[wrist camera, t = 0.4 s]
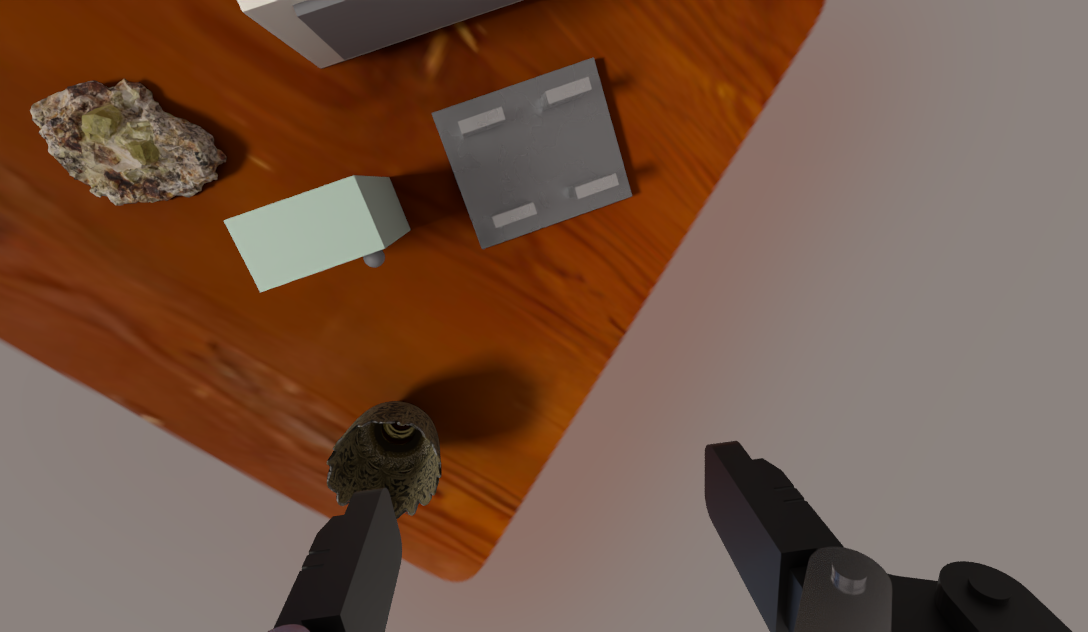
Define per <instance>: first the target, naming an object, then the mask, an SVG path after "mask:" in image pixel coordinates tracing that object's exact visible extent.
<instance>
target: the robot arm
mask: <svg viewBox="0 0 1088 632" xmlns="http://www.w3.org/2000/svg"><path fill="white" fill-rule="evenodd" d="M705 500H706V506H707V510H708V513H709V516H710V519H711V521H712V523H713V525H714V527H715V528H716V530H717V532H718V534H719V536H720V538H721V540H722V542H723V544H724V546H725V547H726V549H727V551H728V553H729V555H730V557H731V559H732V561H733V562H734V564H735V566H736V568H737V570H738V572H739V574H740V576H741V578H742V580H743V581H744V583H745V585H746V587H747V589H748V591H749V593H750V595H751V596H752V598H753V600H754V602H755V604H756V606H757V608H758V610H759V612H760V614H761V615H762V617H763V619H764V621H765V623H766V625H767V627H768V629H769V631H770V632H1072V631H1071V630H1070V629H1069V628H1068V627H1067V626H1065V624H1064V623H1063V622H1062V621H1061V620H1059V619H1058V618H1057V617H1056V616H1055V615H1054V614H1053V613H1052V612H1051V611H1050V610H1049V609H1048V608H1047V607H1046V606H1045V605H1044V604H1043V603H1041V602H1040V601H1039V600H1038V599H1037V598H1036V597H1035V596H1034V595H1033V594H1032V593H1031V592H1030V591H1029V590H1028V589H1027V588H1026V587H1024V586H1023V585H1022V584H1021V583H1019V582H1018V581H1016V580H1015V579H1013V578H1012V577H1010V576H1009V575H1007V574H1005V573H1003V572H1001V571H999V570H997V569H994V568H992V567H989V566H986V565H982V564H979V563H974V562H965V561H963V562H953V563H950V564H947V565H946V566H944V567H943V568H942V570H941V571H940V575H939V579H938V581H933V580H925V579H917V578H909V577H901V576H895V575H891V574H887V573H886V572H885V570H884V569H883V568H882V567H881V566H880V565H879V564H878V563H877V562H875V561H874V560H873V559H871V558H870V557H868V556H866V555H864V554H862V553H860V552H858V551H855V550H852V549H848V548H844V547H843V545H842V544H841V543H840V542H839V541H838V539H837V538H836V537H835V536H834V534H833V533H832V532H831V531H830V529H829V528H828V527H827V526H826V524H825V523H824V522H823V521H822V520H821V518H820V517H819V516H818V515H817V513H816V512H815V511H814V510H813V508H812V507H811V506H810V505H809V504H808V502H807V501H804V497H803V496H802V495H801V494H800V492H799V491H798V490H797V489H796V488H794V485H793V484H792V483H791V481H790V480H789V479H788V478H787V477H786V475H785V474H784V473H783V472H782V471H781V470H780V469H779V468H777V467H776V466H774V465H772V464H771V463H769V462H768V461H766V460H764V459H763V458H761V459H754V460H752V459H751V458H750V456H749V455H748V454H747V452H746V451H745V450H744V448H743V447H742V446H741V444H740V443H739V442H738V441H731V442H724V443H717V444H710V445H707V446H706V448H705ZM401 558H402V542H401V536H400V532H399V528H398V524H397V520H396V516H395V512H394V509H393V505H392V501H391V497H390V494H389V491H388V489H387V488H380V489H372V490H365V491H358V492H355V493H354V494H353V495H352V497H351V500H350V502H349V505H348V507H347V510H346V512H345V514H344V515H340V516H333V517H332V518H331V519H330V520H329V521H328V522H327V524H326V525H325V526H324V527H323V528H322V529H321V530H320V531H319V532H318V533H317V535H316V537H315V539H314V542H313V544H312V546H311V548H310V550H309V555H308V556H307V557H306V559H305V561H304V563H303V566H302V571H300V572H299V574H298V576H297V579H296V581H295V583H294V585H293V587H292V589H291V592H290V594H289V596H288V598H287V601H286V602H285V605H284V607H283V609H282V611H281V613H280V615H279V618H278V620H277V622H276V624H275V626H274V628H273V629H272V630H270V631H268V632H385V628H386V624H387V620H388V615H389V611H390V607H391V603H392V598H393V594H394V590H395V586H396V582H397V577H398V573H399V569H400V564H401Z"/></svg>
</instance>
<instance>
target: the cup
mask: <svg viewBox="0 0 1088 632" xmlns="http://www.w3.org/2000/svg"><path fill="white" fill-rule="evenodd" d="M394 423H397V424H398V425H401V426H404V425H410V427H409V428H408V429H406V430H397V429H395V428H394V427H393V426H392V424H394ZM333 450H334V451H333V453H332V455H331V456H330V457H329V459H328V461H327V465H329V466H330V469H329V473H328V477H327V486H328V488H329V489H330V490H332V491H333V492H335V493H336V494H337V496H336V499H337V502H338V504H339V505H341V506H344V505H346V504H348V503H349V502H347V501H350V500H351V497H352V495H353V494H354V493H355V492H358V491H365V490H372V489H380V488H387V489H388V491H389V494H390V497H391V501H392V505H393V509H394V512H395V516H396V519H397V518H399V517H400V516H401V515H402V514H403V513H405V512H406V511H407V512H408V514H409V515H414V514H415V512H416V509H417V506H418V504H419V503H420V504H422V505H424V506H425V505H427V504H428V503H429V502H430V500H431V498H432V495H435V493H436V489H437V485H438V483H439V478H441V458H440V446H439V439H438V434H437V431H436V428H435V426H434V424H433V422H432V420H431V419H430V417H429V416H428V415H427V414H426V413H425V412H424V411H423V410H421V409H420V408H418V407H417V406H415V405H413V404H410V403H406V402H400V401H392V402H385V403H381V404H378V405H376V406H374V407H372V408H370V409H369V410H367V411H366V412H365V413H363V414H362V415H361V416H360V417H359V418H358V419H357V420H356V421H355V422H354V423H353V424H352V425H351V427H350V428H349V429H348V430H347V431H346V433H345V434H344V435H343V436H342V437H341V438H340V439H339V440H338V441H337V443H336V444H335V446H334V447H333ZM406 514H407V513H406Z"/></svg>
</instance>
